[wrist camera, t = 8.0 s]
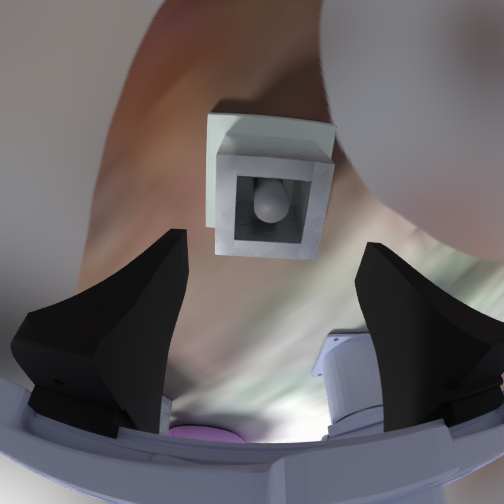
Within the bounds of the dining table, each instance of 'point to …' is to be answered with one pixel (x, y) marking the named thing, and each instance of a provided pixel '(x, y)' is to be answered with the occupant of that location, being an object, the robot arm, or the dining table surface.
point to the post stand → (260, 188)
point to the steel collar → (242, 212)
